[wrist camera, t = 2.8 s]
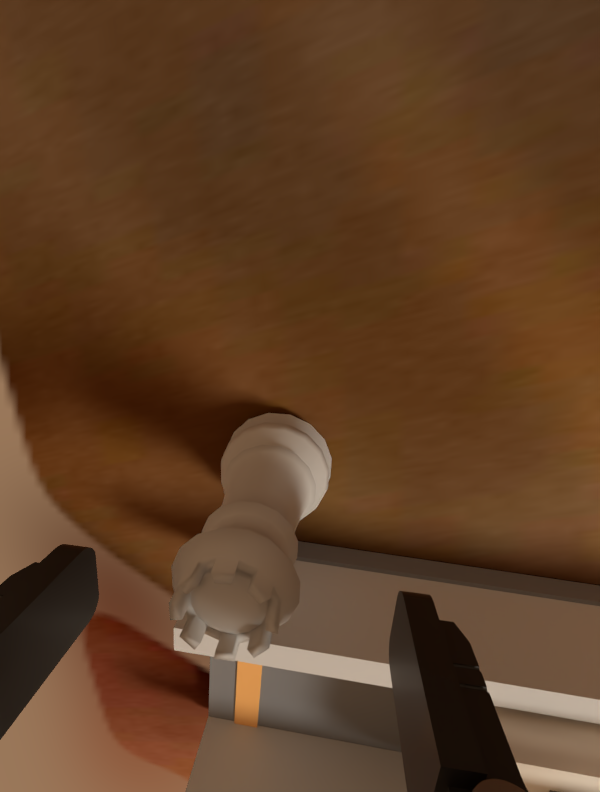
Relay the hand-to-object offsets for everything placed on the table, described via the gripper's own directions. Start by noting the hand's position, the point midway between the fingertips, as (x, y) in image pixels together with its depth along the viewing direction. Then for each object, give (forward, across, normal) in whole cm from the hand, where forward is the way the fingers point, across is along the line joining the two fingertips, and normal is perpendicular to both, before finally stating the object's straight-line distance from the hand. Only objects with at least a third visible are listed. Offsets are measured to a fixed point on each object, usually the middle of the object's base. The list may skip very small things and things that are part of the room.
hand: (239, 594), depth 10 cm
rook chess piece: (+7, 0, -1) cm, 7 cm away
